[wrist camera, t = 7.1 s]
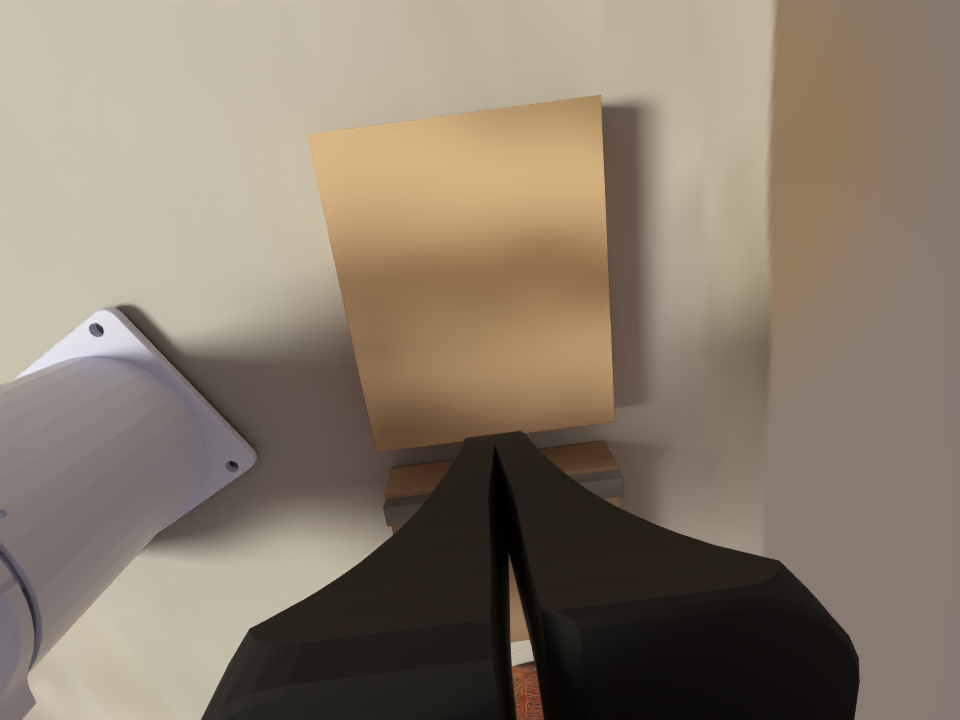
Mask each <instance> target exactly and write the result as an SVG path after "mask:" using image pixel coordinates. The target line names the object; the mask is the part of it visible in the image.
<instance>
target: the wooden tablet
mask: <svg viewBox="0 0 960 720" xmlns="http://www.w3.org/2000/svg"><path fill="white" fill-rule="evenodd" d="M512 676H513V685H514V694H515V703H516V712H517V720H544V718H543V712H542V705H541V699H540V692H539V685H538V679H537V672H536V666H535V661H532V662H527V663H523V664H519V665H516V666H513V667H512Z"/></svg>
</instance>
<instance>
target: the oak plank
mask: <svg viewBox="0 0 960 720" xmlns="http://www.w3.org/2000/svg"><path fill="white" fill-rule="evenodd" d="M307 138H308V143H309V147H310V152H311V156H312V161H313V165H314V170H315V175H316V179H317V184H318V188H319V193H320V197H321V202H322V207H323V211H324V216H325V220H326V225H327V229H328V234H329V239H330V243H331V248H332V252H333V257H334V261H335V266H336V271H337V275H338V280H339V284H340V289H341V293H342V298H343V303H344V307H345V312H346V316H347V321H348V325H349V330H350V335H351V339H352V344H353V348H354V353H355V357H356V362H357V367H358V371H359V376H360V380H361V385H362V389H363V394H364V399H365V403H366V408H367V412H368V417H369V421H370V426H371V431H372V435H373V440H374V444H375V449H376V452H383V451H391V450H399V449H407V448H415V447H422V446H430V445H438V444H446V443H453V442H461V441H464V440H465V438H468V437H476V436H483V435H491V434H499V433H507V432H514V431H522V432H523V433H531V432H539V431H547V430H555V429H562V428H570V427H578V426H586V425H594V424H601V423H609V422H615V414H614V391H613V368H612V344H611V321H610V298H609V275H608V252H607V229H606V206H605V182H604V159H603V136H602V113H601V95H597V96H590V97H582V98H575V99H567V100H560V101H553V102H545V103H538V104H531V105H523V106H516V107H508V108H501V109H494V110H486V111H479V112H471V113H464V114H457V115H449V116H442V117H435V118H427V119H420V120H412V121H405V122H398V123H390V124H383V125H375V126H368V127H361V128H353V129H346V130H339V131H331V132H324V133H316V134H309V135H307Z"/></svg>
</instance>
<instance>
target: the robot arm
mask: <svg viewBox="0 0 960 720" xmlns="http://www.w3.org/2000/svg"><path fill="white" fill-rule="evenodd" d="M97 324H99V325H101V326H102V328H103V329H104V334H102V333H100V332H99V331H98V330H97ZM256 460H257V455H256V452H255V451H254V449H253V448H252V447H251V446H250V445H249V444H248V443H247V442H246V441H245V440H244V439H243V438H242V437H241V436H240V435H239V434H238V433H237V432H236V431H235V430H234V428H233V427H232V426H231V425H230V424H229V423H228V422H227V421H226V420H225V419H224V418H223V417H222V416H221V415H220V414H219V413H218V412H217V411H216V410H215V409H214V408H213V407H212V406H211V405H210V404H209V403H208V401H207V400H206V399H205V398H204V397H203V396H202V395H201V394H200V393H199V392H198V391H197V390H196V389H195V388H194V387H193V386H192V385H191V384H190V383H189V382H188V381H187V380H186V379H185V378H184V377H183V376H182V374H181V373H180V372H179V371H178V370H177V369H176V368H175V367H174V366H173V365H172V364H171V363H170V362H169V361H168V360H167V359H166V358H165V357H164V356H163V355H162V354H161V353H160V352H159V351H158V350H157V349H156V347H155V346H154V345H153V344H152V343H151V342H150V341H149V340H148V339H147V338H146V337H145V336H144V335H143V334H142V333H141V332H140V331H139V330H138V329H137V328H136V327H135V326H134V325H133V324H132V323H131V322H130V320H129V319H128V318H127V317H126V316H125V315H124V314H123V313H122V312H120V311H119V310H118V309H116V308H113V307H106V308H102V309H100V310H98V311H96V312H95V313H93V314H92V315H91V316H90V317H89V318H87V319H86V320H85V321H84V322H82V323H81V324H80V325H79V326H78V327H76V328H75V329H74V330H73V331H71V332H70V333H69V334H68V335H67V336H65V337H64V338H63V339H62V340H60V341H59V342H58V343H57V344H56V345H54V346H53V347H52V348H51V349H49V350H48V351H47V352H46V353H45V354H43V355H42V356H41V357H40V358H38V359H37V360H36V361H35V362H34V363H32V364H31V365H30V366H29V367H27V368H26V369H25V370H24V371H23V372H21V373H20V374H19V375H18V376H16V377H15V378H14V379H13V380H12V381H10V382H7V383H5V384H2V385H0V720H22V719H23V718H24V717H25V716H26V715H27V713H28V712H29V711H30V710H31V709H32V708H33V706H34V705H35V704H36V701H35V698H34V696H33V694H32V693H31V691H30V688H29V685H28V680H27V675H28V673H29V672H30V671H31V670H32V669H33V668H34V667H35V666H36V665H37V664H38V663H39V661H40V660H41V659H42V658H43V657H44V656H45V655H46V654H47V653H48V652H49V651H50V649H51V648H52V647H53V646H54V645H55V644H56V643H57V642H58V641H59V640H60V639H61V637H62V636H63V635H64V634H65V633H66V632H67V631H68V630H69V629H70V628H71V627H72V625H73V624H74V623H75V622H76V621H77V620H78V619H79V618H80V617H81V616H82V615H83V614H84V612H85V611H86V610H87V609H88V608H89V607H90V606H91V605H92V604H93V603H94V602H95V600H96V599H97V598H98V597H99V596H100V595H101V594H102V593H103V592H104V591H105V590H106V588H107V587H108V586H109V585H110V584H111V583H112V582H113V581H114V580H115V579H116V578H117V576H118V575H119V574H120V573H121V572H122V571H123V570H124V569H125V568H126V567H127V566H128V564H129V563H130V562H131V561H132V560H133V559H134V558H135V557H136V556H137V555H138V554H139V552H140V551H141V550H142V549H143V548H144V547H145V546H146V545H147V544H148V543H149V542H150V541H151V539H152V538H153V537H154V536H155V535H156V534H157V533H159V532H160V531H162V530H163V529H165V528H166V527H167V526H169V525H170V524H172V523H173V522H175V521H176V520H177V519H179V518H180V517H182V516H183V515H184V514H186V513H187V512H189V511H190V510H192V509H193V508H194V507H196V506H197V505H199V504H200V503H202V502H203V501H204V500H206V499H207V498H209V497H210V496H212V495H213V494H214V493H216V492H217V491H219V490H220V489H222V488H223V487H224V486H226V485H227V484H229V483H230V482H232V481H233V480H234V479H236V478H237V477H239V476H240V475H241V474H243V473H244V472H246V471H247V470H249V469H250V468H251V467H252V466H253V465H254V463H255V462H256ZM230 461H234V462H236V463H237V465H238V468H237V467H233V466H232V465H231V464H230ZM509 556H510V560H511V564H512V568H513V573H514V577H515V581H516V585H517V589H518V593H519V597H520V601H521V605H522V609H523V614H524V618H525V622H526V626H527V630H528V634H529V638H530V642H531V646H532V651H533V656H534V661H535V666H536V672H537V679H538V685H539V692H540V699H541V705H542V712H543V718H544V720H854V717H855V711H856V704H857V697H858V690H859V682H860V680H859V657H858V655H857V653H856V651H855V649H854V646H853V644H852V641H851V639H850V637H849V635H848V634H847V633H846V632H845V631H844V629H843V628H842V627H841V626H840V625H839V624H838V623H837V622H836V620H835V619H834V618H833V617H832V616H831V615H830V614H829V613H828V611H827V610H826V609H825V608H824V606H823V605H822V604H821V603H820V602H819V601H818V600H817V598H816V597H815V596H814V595H813V594H812V593H811V592H810V591H809V590H808V588H807V587H806V586H805V585H803V584H802V583H801V582H800V581H799V580H798V579H797V578H796V577H795V576H794V575H793V574H792V573H791V572H790V571H789V570H788V569H787V568H786V567H785V566H784V565H783V564H782V563H781V562H780V561H778V560H774V559H769V558H766V557H762V556H757V555H753V554H749V553H745V552H741V551H737V550H733V549H728V548H724V547H720V546H716V545H713V544H709V543H706V542H703V541H700V540H697V539H694V538H691V537H688V536H685V535H682V534H679V533H676V532H673V531H671V530H668V529H665V528H663V527H660V526H658V525H655V524H653V523H651V522H648V521H646V520H644V519H642V518H639V517H637V516H635V515H633V514H630V513H628V512H626V511H624V510H622V509H620V508H618V507H616V506H615V505H613V504H611V503H609V502H608V501H606V500H604V499H602V498H601V497H599V496H597V495H596V494H594V493H592V492H591V491H589V490H588V489H586V488H585V487H583V486H582V485H580V484H579V483H578V482H576V481H575V480H573V479H572V478H571V477H570V476H568V475H567V474H566V473H565V472H563V471H562V470H561V469H560V468H559V467H558V466H557V465H555V464H554V463H553V462H552V461H551V460H550V459H549V458H548V457H547V456H545V455H544V454H543V453H542V452H541V451H540V450H539V449H538V448H537V447H536V446H535V444H534V443H533V442H532V441H531V440H530V439H529V438H528V437H527V435H526V434H524V433H523V432H522V431H514V432H507V433H499V434H491V435H483V436H476V437H468V438H465V440H464V441H463V442H462V443H461V445H460V448H459V449H458V451H457V453H456V455H455V457H454V459H453V460H452V462H451V464H450V465H449V467H448V469H447V470H446V472H445V473H444V475H443V476H442V478H441V479H440V481H439V482H438V484H437V485H436V487H435V488H434V489H433V491H432V492H431V493H430V495H429V496H428V497H427V499H426V500H425V501H424V502H423V504H422V505H421V506H420V508H419V509H418V510H417V511H416V512H415V513H414V515H413V516H412V517H411V518H410V519H409V520H408V521H407V522H406V523H405V524H404V525H403V526H402V527H401V528H400V529H399V530H398V531H397V532H396V533H395V534H394V535H393V536H392V537H390V538H389V539H388V540H387V541H386V542H384V543H383V544H382V545H381V546H380V547H378V548H377V549H376V550H375V551H374V552H372V553H371V554H370V555H369V556H368V557H366V558H365V559H364V560H363V561H361V562H360V563H359V564H357V565H356V566H355V567H353V568H352V569H350V570H349V571H348V572H346V573H345V574H343V575H342V576H341V577H339V578H337V579H336V580H334V581H333V582H331V583H330V584H328V585H327V586H325V587H324V588H322V589H321V590H319V591H317V592H316V593H314V594H312V595H311V596H309V597H307V598H306V599H304V600H302V601H300V602H298V603H297V604H295V605H293V606H291V607H289V608H288V609H286V610H284V611H282V612H280V613H278V614H277V615H275V616H273V617H271V618H269V619H267V620H266V621H264V622H262V623H260V624H258V625H256V626H254V627H252V628H250V629H249V631H248V632H247V634H246V636H245V637H244V639H243V641H242V642H241V644H240V646H239V648H238V649H237V651H236V653H235V654H234V656H233V658H232V659H231V661H230V663H229V665H228V667H227V669H226V671H225V673H224V675H223V677H222V679H221V681H220V683H219V685H218V687H217V689H216V691H215V693H214V695H213V697H212V699H211V701H210V703H209V705H208V707H207V709H206V711H205V713H204V715H203V717H202V719H201V720H517V712H516V703H515V694H514V685H513V676H512V663H511V641H510V586H509Z"/></svg>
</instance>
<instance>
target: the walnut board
mask: <svg viewBox="0 0 960 720" xmlns="http://www.w3.org/2000/svg"><path fill="white" fill-rule="evenodd" d="M539 450H540V451H541V452H542V453H543V454H544V455H545V456H547V457H548V458H549V459H550V460H551V461H552V462H553V463H554V464H555V465H557V466H558V467H559V468H560V469H561V470H562V471H563V472H565V473H566V474H567V475H568V476H570V477H571V478H572V479H573V480H575V481H576V482H578V483H579V484H580V485H582V486H583V487H585V488H586V489H588V490H589V491H591V492H592V493H594V494H596V495H597V496H599V497H601V498H602V499H604V500H606V501H608V502H609V503H611V504H613V505H615V506H616V507H618V508H620V502H619V497H622V496H623V477H622V476H621V474H620V472H619V470H618V464H617V463H616V461H615V459H614V458H613V456H612V454H611V452H610V451H609V449H608V447H607V445H606V444H605V442H604V441H599V442H591V443H583V444H576V445H568V446H560V447H552V448H544V449H539ZM451 462H452V460H451V461H443V462H435V463H427V464H419V465H412V466H404V467H396V468H392V470H391V473H390V477H389V481H388V485H387V488H386V492H385V498H386V500H385V504H384V508H383V509H384V514H385V518H386V523H387V526H392V531H393V535H394V534H395V533H396V532H397V531H398V530H399V529H400V528H401V527H402V526H403V525H404V524H405V523H406V522H407V521H408V520H409V519H410V518H411V517H412V516H413V515H414V513H415V512H416V511H417V510H418V509H419V508H420V506H421V505H422V504H423V502H424V501H425V500H426V499H427V497H428V496H429V495H430V493H431V492H432V491H433V489H434V488H435V487H436V485H437V484H438V482H439V481H440V479H441V478H442V476H443V475H444V473H445V472H446V470H447V469H448V467H449V465H450V464H451ZM509 586H510V641H511V642H515V641H523V640H530V638H529V634H528V630H527V626H526V622H525V618H524V614H523V609H522V605H521V601H520V597H519V593H518V589H517V585H516V581H515V577H514V573H513V568H512V564H511V560H510V556H509Z"/></svg>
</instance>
